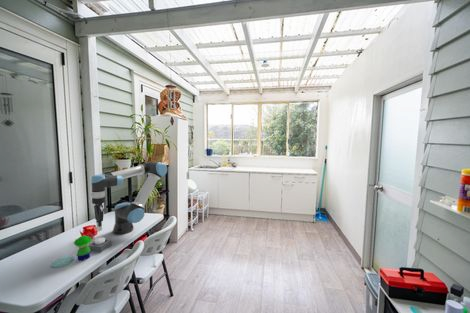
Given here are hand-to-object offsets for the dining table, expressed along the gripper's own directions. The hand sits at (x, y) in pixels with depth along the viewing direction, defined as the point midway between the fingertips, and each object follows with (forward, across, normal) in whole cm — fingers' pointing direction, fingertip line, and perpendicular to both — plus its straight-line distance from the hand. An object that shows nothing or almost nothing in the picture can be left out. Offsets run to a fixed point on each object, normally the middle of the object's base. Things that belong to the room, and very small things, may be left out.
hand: (99, 230), depth 135 cm
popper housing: (+13, 0, 0) cm, 13 cm away
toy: (+13, +7, -11) cm, 18 cm away
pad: (+13, +2, -20) cm, 24 cm away
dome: (+10, 0, 0) cm, 10 cm away
